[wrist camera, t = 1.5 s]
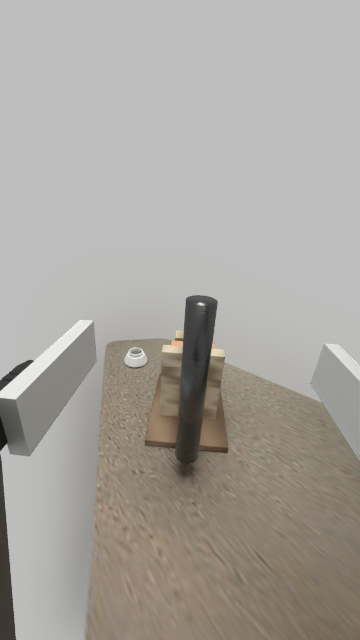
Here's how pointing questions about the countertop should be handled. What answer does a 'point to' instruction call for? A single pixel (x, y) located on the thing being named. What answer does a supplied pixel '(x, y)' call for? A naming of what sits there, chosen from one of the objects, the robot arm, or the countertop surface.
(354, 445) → the robot arm
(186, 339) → the crank handle
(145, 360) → the lidless jar
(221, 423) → the bearing stand
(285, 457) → the countertop surface
